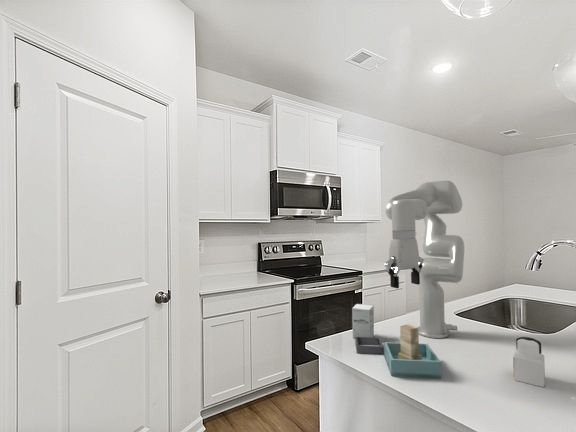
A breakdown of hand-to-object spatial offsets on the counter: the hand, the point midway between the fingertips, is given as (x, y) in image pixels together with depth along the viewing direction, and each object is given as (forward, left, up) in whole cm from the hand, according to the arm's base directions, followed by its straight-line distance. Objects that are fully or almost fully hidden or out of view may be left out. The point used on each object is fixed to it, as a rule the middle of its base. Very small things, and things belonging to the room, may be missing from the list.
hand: (405, 285), depth 112 cm
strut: (0, +4, -25) cm, 25 cm away
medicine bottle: (-33, +9, -26) cm, 43 cm away
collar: (+12, -10, -26) cm, 30 cm away
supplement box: (+13, -22, -26) cm, 36 cm away
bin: (0, +4, -26) cm, 26 cm away
